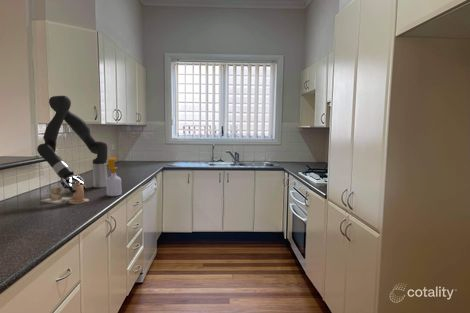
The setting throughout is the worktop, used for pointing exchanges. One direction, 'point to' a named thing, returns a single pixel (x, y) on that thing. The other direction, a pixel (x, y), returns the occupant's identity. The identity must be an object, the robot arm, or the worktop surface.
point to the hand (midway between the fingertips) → (80, 190)
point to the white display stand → (56, 196)
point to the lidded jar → (78, 193)
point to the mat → (78, 202)
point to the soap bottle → (113, 180)
